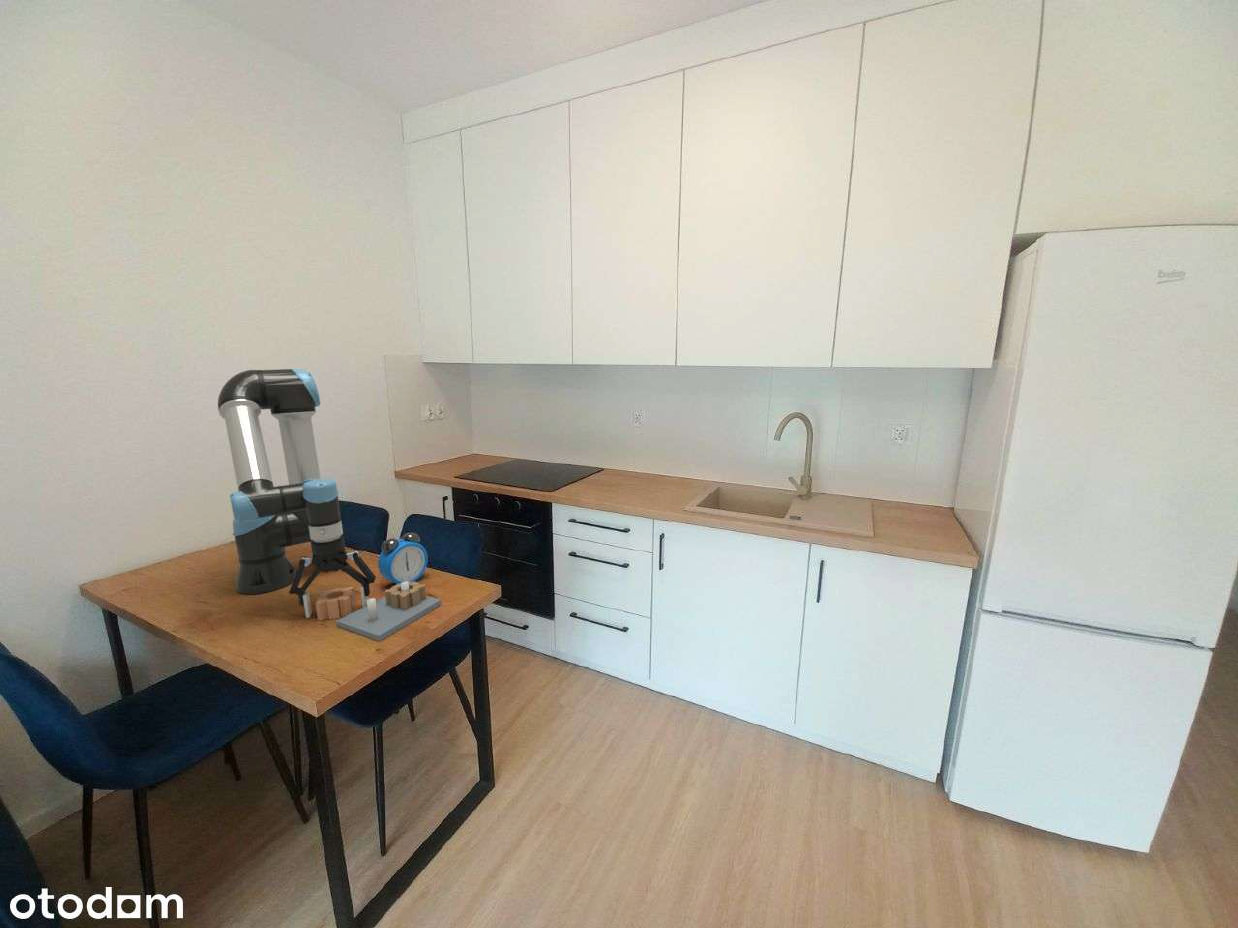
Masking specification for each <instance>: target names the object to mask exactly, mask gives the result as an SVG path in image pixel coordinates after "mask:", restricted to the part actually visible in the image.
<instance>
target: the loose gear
mask: <svg viewBox="0 0 1238 928" xmlns="http://www.w3.org/2000/svg"><path fill="white" fill-rule="evenodd" d="M355 593H356V592H355V587H354V586H349V587H339V588H338V587H337V588H333V589H329V590H327V589H325V590H322V591H321V592H320V594H319V595H318V597H317V601H315V610H316V615H317V617H316V618H317V620H318V621H324V620H328V619H329V620H330V621H331V620H334V619H341V617H342V618H343V617H345V616H347V615H349V614H351V613H353V612H354V609H355V605H356V604H357V601H356V594H355Z"/></svg>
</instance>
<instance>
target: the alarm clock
mask: <svg viewBox="0 0 1238 928" xmlns="http://www.w3.org/2000/svg"><path fill="white" fill-rule="evenodd" d="M420 541H421V539H420V536H419V535H418V534H417V533H416V532H414V531H413V532H407V533H405V534H404V535H403V536H402V537H399V538H398V539H397V538H394V537H393V538H392V537H391V538H388V539H386V540H385V541H383V543H382V545H381V552H380V555H379V557H378V562H377V565H378V567H377V569H378V571H379V573H380V574H381V576H382V577H383V578H384V579H386V580H387V581H390V582H391V583H394V584H395V585H397V584H401V583H402V582H404V581H406V580H409V582H410V581H411V582H413V581H414V582H417V580H420V578H421V576H423V574H424V573H425V570H426V568H427V566H428V560H429V558H428V552H427V550H426V549H425V547H424V546H423V545H421V544H420Z"/></svg>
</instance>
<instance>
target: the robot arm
mask: <svg viewBox="0 0 1238 928" xmlns="http://www.w3.org/2000/svg"><path fill="white" fill-rule="evenodd" d="M320 405H321V398H320V393H319V389H318V386H317V384H316V382H315V378H314V377H313V375H312V373H311V372H310V371H309V370H306V369H298V368H297V369H296V368H289V369H288V368H285V369H284V368H282V369H249V370H248V369H247V370H244V371H241V372H239V373H236V374H235V375H234V376H231V377H230V379H228V380H227V381H226V383H225V384H224V385H223V386H222V387H221V390H220V392H219V395H218V400H217V409H218V414H219V416H220V417H221V418H222V419H224V422H225V427H226V432H227V436H228V442H229V448H230V452H231V459H232V463H233V468H234V474H235V479H236V484H237V489H238V491H235V492H234V491H233V492H231V493H230V495H229V497H230V504H231V510H232V515H233V521H232V530H233V532H232V535H233V536H234V539H235V540H234V541H235V546H236V551H237V552H236V553H237V557H238V563H239V566H238V571H237V573H236V574H237V575H236V580H235V589H236V591H237V593H239V594H243V595H256V594H263V593H269V592H273V591H276V590H279V589H281V588H285V587H286V586H288V585H290V584H291V587H290V589H289V591H288V593H289V595H297V596H298V602H299V603H298V604H299V605H300V607H304V614H305V619H310V618H311V616H312V614H313V612H312V611H313V610H312V604H311V598H310V597H311V596H310V591H309V590H307V589H308V588H309V587H310V585H311V584H312V583H313V581H314V580H315V579H316V578H317V576H318V575H319V574H320V572H322V573H324V574H326V573H330V572H338V571H339V570H340V571H342V572H343V573H346V574H347V575H348V576H349V577H351V579H354V580H355V581H357V582H358V583H359V584H360V587H359V588H360V589H359V590H360V595H361V596H360V598H361V603H362V604H361V605H362V608H363V607H365V606H367V600H368V598H367V597H369V596H370V593H371V589H370V584H373V583H375V581H376V577H377V576H376V574H374V572H373V571H372V570H371V569H370V568H369V566H368V565H367V563H366V562H365V561H364V560H363V558H362V557H361V553H360V550H357V549H355V550H354V551H352V552H347V551H346V543H345V537H344V536H343V534H344V531H343V524H342V518H341V510H340V503H339V491H338V487H337V483H336V481H335V480H334V479H331V478H322V477H321V474H320V466H319V459H318V453H317V452H318V451H317V447H316V442H315V441H316V440H315V433H314V427H313V422H312V417H313V416H314V415H315V414H316V412H317V411H316V408H318V407H320ZM262 410H270V415H271V416H272V417H273V418H274V419H276V420H277V421H278V425H279V431H280V438H281V443H282V450H283V455H284V456H283V457H284V463H285V468H286V473H287V474H286V475H287V481H288V484H286V485H278V486H277V485H276V486H274V483H273V478H272V474H271V469H270V464H269V459H268V454H267V450H266V446H265V442H264V441H265V440H264V437H263V432H262V428H261V427H262V426H261V424H260V418H259V416H260V415H261V413H262ZM305 543H310V545H311V553H312V554H311V555H312V557H307V556H304V555H303V556H302V557H301V558H300V559H299V562H298V563H299V565H298V571H296V569H295V567H294V565H293V564H292V562H291V560H290V559H289V558H288V557H289V556H288V555H287V553H286V552H287V551H286V548H288V547H292V546H297V545H302V544H305ZM348 559H349V560H351V561H353V562H354V563H355V565H356V566H357V567H358V569H359V570H360V571H358V570H357V569H356V568H354V567H353V566H352V565H351V564H350V563H349V562H347V560H348ZM310 564H312V565H314V567H316V568H314V570H313V571H312V573H311V574H310V575H309V577H308V578H307V579H306V580H305V582H304V583H303V585H301V587H299V585H300V582H301V580H302V578H303V576H304V573H305V571H306V568H307V567H308V566H309V565H310Z"/></svg>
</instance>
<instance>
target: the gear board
mask: <svg viewBox="0 0 1238 928" xmlns="http://www.w3.org/2000/svg"><path fill="white" fill-rule="evenodd" d="M441 605H442V599H439V598H437V597H434V596H433V597H432V596H429V595H427V592H426V584H425V583H423V584H421V583H420V582H417V581H413V582H411V581H410V582H409V580H406V581H404V582H402V583H401V584H395V585H393V586H391V587H390V588H389V589H385V591H384V596H383V597H381V598H379V599H376V598H375V597H371V598H367V606H365V607H363V606H362V607H360V609H357V610H355V611H352V613H351V614H349V615H347V616H344V617H342V618H341V617H340V618H338V619H337V620H336V621H335V623H336V627H338V628H341V629H343V630H347V631H349V632H351V633H355V634H358V635H360V636H364V637H366V638H369V639H372V640H374V641H377V642H381V641H383V640H384V639H386V638H388V637H389V636H391V635H392V634H395V633H396V632H398V631H400V630H401V629H403V628H404V627H406V626H408V625H410V624H411V623H413V622H415V621H416V620H418V619H420V618H421V617H422V618H423V616H425V615H426V614H429V612H432V611H433V610H435V609H437V608H438V607H440V606H441Z"/></svg>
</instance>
